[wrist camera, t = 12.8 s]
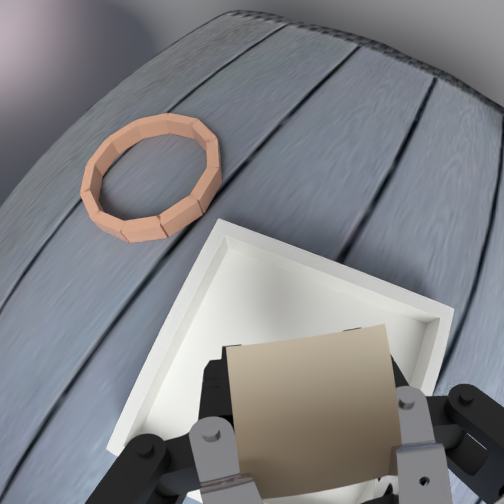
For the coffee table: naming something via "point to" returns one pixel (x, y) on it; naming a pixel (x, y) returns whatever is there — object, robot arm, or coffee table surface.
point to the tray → (272, 331)
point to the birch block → (314, 411)
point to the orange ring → (174, 215)
